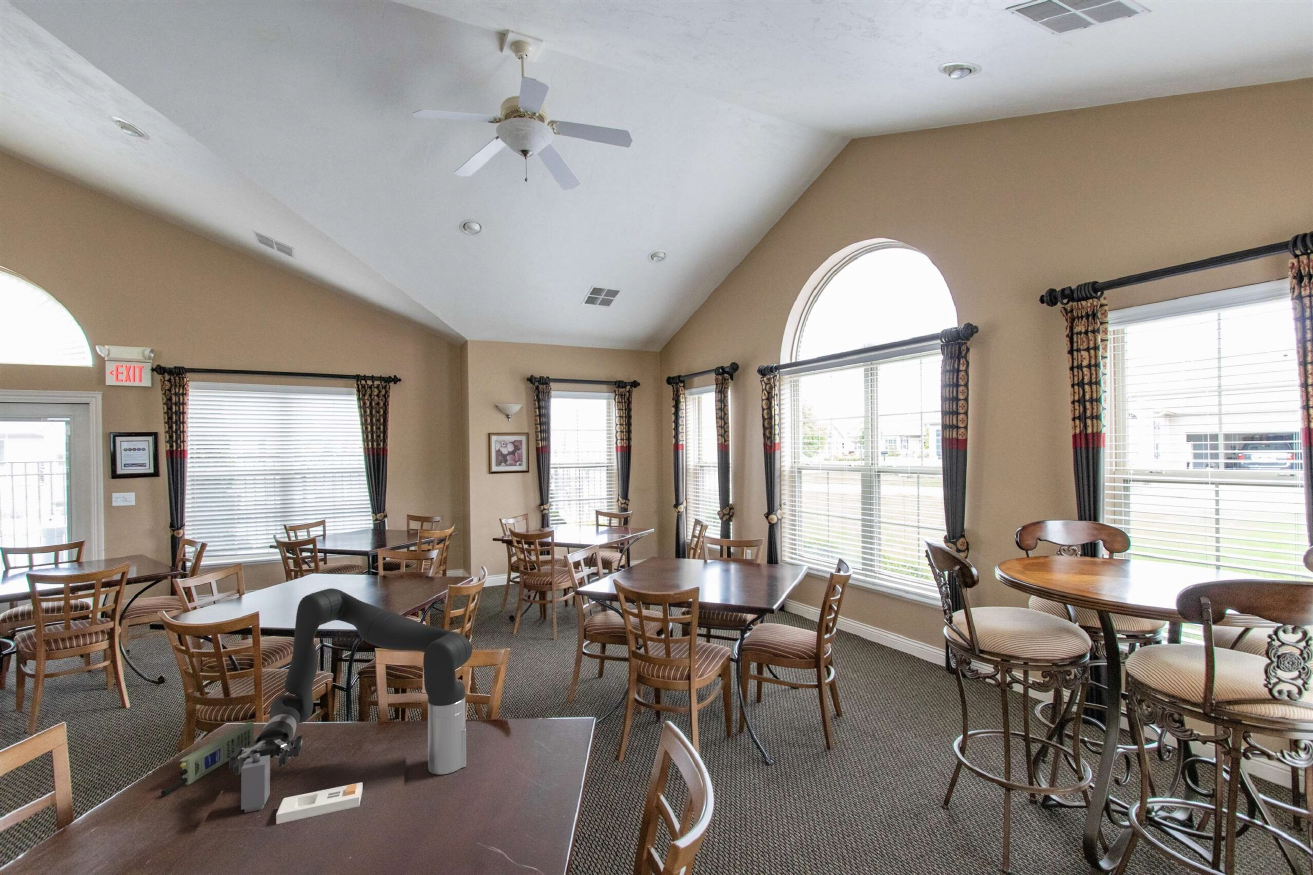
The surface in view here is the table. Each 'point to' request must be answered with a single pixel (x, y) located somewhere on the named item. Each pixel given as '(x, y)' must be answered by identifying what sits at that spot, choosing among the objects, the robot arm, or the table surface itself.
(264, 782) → the charger
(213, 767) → the handheld radio
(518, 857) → the table surface
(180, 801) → the table surface
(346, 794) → the power strip
